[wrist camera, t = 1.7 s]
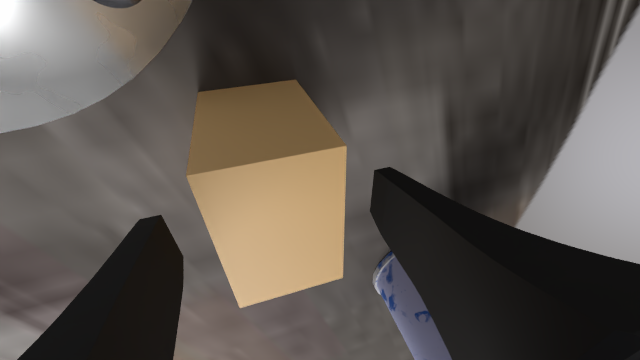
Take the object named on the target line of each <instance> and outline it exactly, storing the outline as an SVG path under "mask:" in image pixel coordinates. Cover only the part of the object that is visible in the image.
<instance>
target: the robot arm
mask: <svg viewBox="0 0 640 360" xmlns="http://www.w3.org/2000/svg"><path fill="white" fill-rule="evenodd" d="M370 212H371V214H372V216H373V219H374V221H375V223H376V225H377V227H378V229H379V231H380V233H381V235H382V237H383V238H384V240H385V241H386V243H387V245H388V246H389V248H390V249H391V251H392V252H393V254H394V255H395V257H396V258H397V260H398V262H399V263H400V265H401V266H402V268H403V269H404V271H405V272H406V274H407V275H408V277H409V278H410V280H411V281H412V283H413V285H414V286H415V288H416V290H417V291H418V293H419V295H420V296H421V298H422V300H423V302H424V304H425V306H426V308H427V310H428V312H429V314H430V316H431V317H432V319H433V321H434V323H435V325H436V327H437V329H438V331H439V333H440V336H441V338H442V340H443V342H444V344H445V346H446V348H447V350H448V352H449V354H450V356H451V359H452V360H640V264H636V263H633V262H628V261H624V260H619V259H615V258H611V257H607V256H603V255H600V254H596V253H593V252H589V251H586V250H582V249H578V248H575V247H571V246H568V245H565V244H561V243H558V242H555V241H551V240H549V239H546V238H543V237H540V236H537V235H534V234H531V233H528V232H525V231H522V230H520V229H517V228H514V227H512V226H509V225H507V224H504V223H502V222H499V221H497V220H494V219H492V218H489V217H487V216H485V215H482V214H480V213H478V212H476V211H474V210H471V209H469V208H467V207H465V206H463V205H461V204H459V203H457V202H455V201H453V200H451V199H449V198H447V197H445V196H443V195H441V194H439V193H437V192H435V191H434V190H432V189H430V188H428V187H426V186H424V185H423V184H421V183H419V182H417V181H415V180H413V179H412V178H410V177H408V176H406V175H404V174H403V173H401V172H399V171H397V170H395V169H393V168H391V167H387V168H382V169H378V170H374V179H373V188H372V198H371V208H370ZM182 292H183V255H182V253H181V251H180V249H179V248H178V246H177V244H176V242H175V240H174V238H173V236H172V234H171V233H170V231H169V229H168V227H167V225H166V223H165V221H164V219H163V217H162V216H161V215H158V216H153V217H149V218H144V219H140V220H139V221H138V222H137V223H136V224H135V226H134V227H133V228H132V229H131V231H130V232H129V233H128V234H127V236H126V237H125V238H124V239H123V241H122V242H121V243H120V245H119V246H118V247H117V248H116V250H115V251H114V252H113V253H112V255H111V256H110V257H109V258H108V260H107V261H106V262H105V263H104V264H103V266H102V267H101V268H100V269H99V271H98V272H97V273H96V274H95V276H94V277H93V278H92V279H91V280H90V282H89V283H88V284H87V285H86V286H85V287H84V288H83V290H82V291H81V292H80V293H79V294H78V295H77V296H76V298H75V299H74V300H73V301H72V302H71V303H70V304H69V305H68V307H67V308H66V309H65V310H64V311H63V312H62V313H61V315H60V316H59V317H58V318H57V319H56V320H55V321H54V322H53V323H52V324H51V326H50V327H49V328H48V329H47V330H46V331H45V332H44V333H43V334H42V335H41V336H40V337H39V338H38V339H37V340H36V341H35V342H34V343H33V344H32V345H31V346H30V347H29V348H28V349H27V350H26V351H25V352H24V353H23V354H22V355H21V356H20V357H19V358H18V359H17V360H173V356H174V349H175V342H176V335H177V328H178V321H179V314H180V307H181V300H182Z"/></svg>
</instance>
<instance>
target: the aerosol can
mask: <svg viewBox="0 0 640 360" xmlns="http://www.w3.org/2000/svg"><path fill="white" fill-rule="evenodd" d="M373 284H374V286H375V288H376V290H377V292H378V293H379V294H381V295H382V297H383V299H384V301H385V303H386V305H387V307H388V309H389V311H390V313H391V315H392V316H393V318H394V320H395V322H396V324H397V326H398V328H399V330H400V332H401V334H402V336H403V338H404V340H405V342H406V343H407V345H408V347H409V349H410V351H411V353H412V355H413V357H414V359H415V360H452V359H451V356H450V354H449V352H448V350H447V348H446V346H445V344H444V342H443V340H442V338H441V336H440V333H439V331H438V329H437V327H436V325H435V323H434V321H433V319H432V317H431V316H430V314H429V312H428V310H427V308H426V306H425V304H424V302H423V300H422V298H421V296H420V295H419V293H418V291H417V290H416V288H415V286H414V285H413V283H412V281H411V280H410V278H409V277H408V275H407V274H406V272H405V271H404V269H403V268H402V266H401V265H400V263H399V262H398V260H397V258H396V257H395V255H394V254H393V252H392V251H391V252H390V253H388V254H387V255H386V257H385V258H384V259H383V260H382V261H381V262H380V263H379V264H378V266H377V268H376V270H375V272H374V274H373Z"/></svg>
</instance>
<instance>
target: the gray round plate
mask: <svg viewBox="0 0 640 360" xmlns="http://www.w3.org/2000/svg"><path fill="white" fill-rule="evenodd" d="M192 2H193V0H0V133H4V132H9V131H14V130H19V129H24V128H30V127H35V126H38V125H41V124H44V123H47V122H50V121H53V120H56V119H59V118H62V117H65V116H68V115H71V114H74V113H76V112H78V111H80V110H82V109H84V108H86V107H88V106H90V105H92V104H94V103H96V102H98V101H100V100H102V99H104V98H106V97H107V96H109V95H110V94H112V93H113V92H114V91H116V90H117V89H119V88H120V87H121V86H123V85H124V84H126V83H127V82H128V81H130V80H131V79H133V78H134V77H135V76H136V75H137V74H138V73H139V72H140V71H141V70H142V69H143V68H144V67H145V66H146V65H147V64H148V63H149V62H150V61H151V60H152V59H153V58H154V57H155V56H156V55H157V54H158V53H159V52H160V51H161V50H162V48H163V47H164V45H165V44H166V43H167V41H168V40H169V38H170V37H171V36H172V34H173V33H174V31H175V30H176V29H177V27H178V26H179V24H180V23H181V21H182V20H183V19H184V17H185V16H186V14H187V12H188V10H189V8H190V6H191V4H192Z"/></svg>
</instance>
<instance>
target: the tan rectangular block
mask: <svg viewBox="0 0 640 360" xmlns="http://www.w3.org/2000/svg"><path fill="white" fill-rule="evenodd" d="M186 177H187V179H188V182H189V184H190V187H191V189H192V192H193V194H194V196H195V199H196V201H197V204H198V206H199V209H200V211H201V214H202V216H203V219H204V221H205V224H206V226H207V228H208V231H209V233H210V236H211V238H212V241H213V243H214V246H215V248H216V251H217V253H218V256H219V258H220V260H221V263H222V265H223V268H224V270H225V273H226V275H227V278H228V280H229V283H230V285H231V288H232V290H233V292H234V295H235V297H236V300H237V302H238V305H239V307H240V308H242V307H246V306H249V305H252V304H256V303H259V302H263V301H266V300H269V299H273V298H276V297H279V296H283V295H286V294H290V293H293V292H296V291H300V290H303V289H307V288H310V287H313V286H317V285H320V284H323V283H327V282H330V281H334V280H337V279H340V278H343V254H344V218H345V182H346V144H345V143H344V142H343V141H342V139H341V138H340V137H339V135H338V134H337V133H336V131H335V130H334V129H333V127H332V126H331V125H330V124H329V122H328V121H327V120H326V118H325V117H324V116H323V114H322V113H321V112H320V110H319V109H318V108H317V107H316V105H315V104H314V103H313V101H312V100H311V99H310V97H309V96H308V95H307V93H306V92H305V91H304V90H303V88H302V87H301V86H300V84H299V83H298V82H297V80H288V81H281V82H273V83H265V84H257V85H250V86H242V87H234V88H226V89H219V90H211V91H203V92H198V96H197V103H196V110H195V117H194V124H193V131H192V138H191V145H190V152H189V159H188V166H187V173H186Z"/></svg>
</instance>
